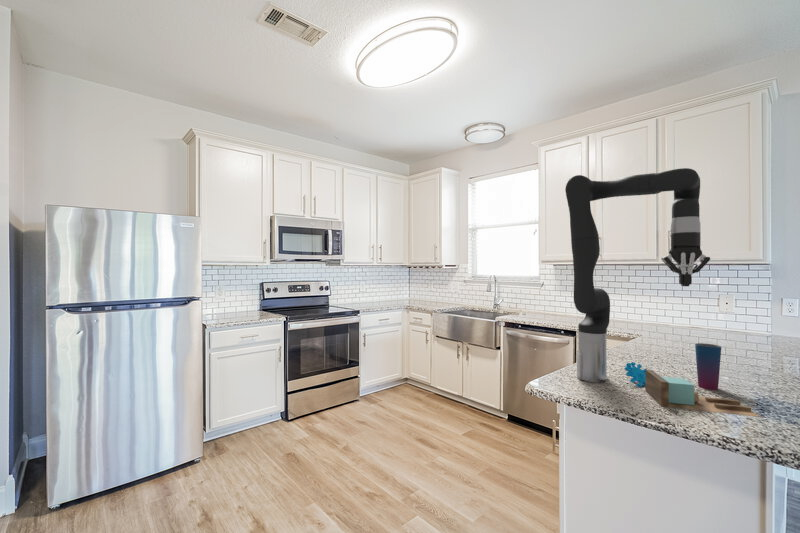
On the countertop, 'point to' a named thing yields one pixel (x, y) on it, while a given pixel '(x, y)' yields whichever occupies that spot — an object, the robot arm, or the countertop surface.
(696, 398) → the dowel
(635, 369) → the gear
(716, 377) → the cup
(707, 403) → the board
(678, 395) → the block
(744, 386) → the countertop surface
